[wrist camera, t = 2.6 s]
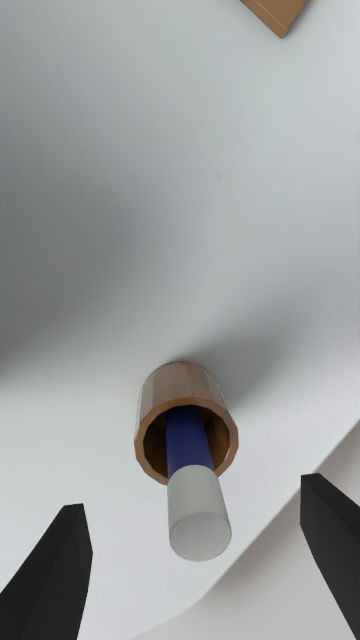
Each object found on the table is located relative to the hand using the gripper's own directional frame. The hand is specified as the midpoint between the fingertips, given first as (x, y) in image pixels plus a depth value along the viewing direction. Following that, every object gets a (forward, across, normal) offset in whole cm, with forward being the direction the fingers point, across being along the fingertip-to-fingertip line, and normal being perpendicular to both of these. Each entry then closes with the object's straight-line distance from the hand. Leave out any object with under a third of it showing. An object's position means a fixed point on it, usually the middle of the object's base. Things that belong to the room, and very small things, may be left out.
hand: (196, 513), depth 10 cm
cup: (+8, 0, 0) cm, 8 cm away
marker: (+7, 0, 0) cm, 7 cm away
